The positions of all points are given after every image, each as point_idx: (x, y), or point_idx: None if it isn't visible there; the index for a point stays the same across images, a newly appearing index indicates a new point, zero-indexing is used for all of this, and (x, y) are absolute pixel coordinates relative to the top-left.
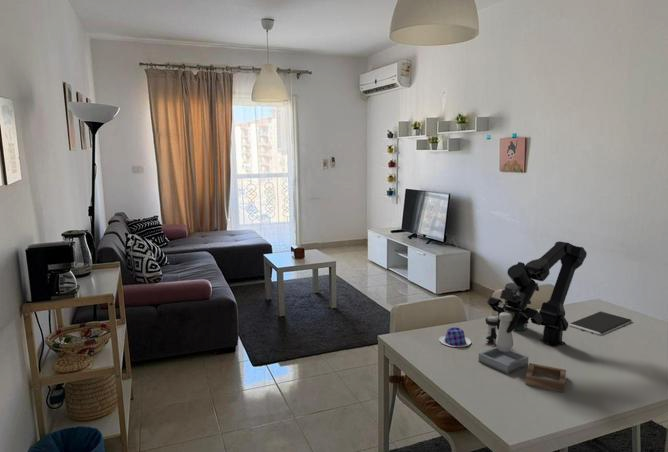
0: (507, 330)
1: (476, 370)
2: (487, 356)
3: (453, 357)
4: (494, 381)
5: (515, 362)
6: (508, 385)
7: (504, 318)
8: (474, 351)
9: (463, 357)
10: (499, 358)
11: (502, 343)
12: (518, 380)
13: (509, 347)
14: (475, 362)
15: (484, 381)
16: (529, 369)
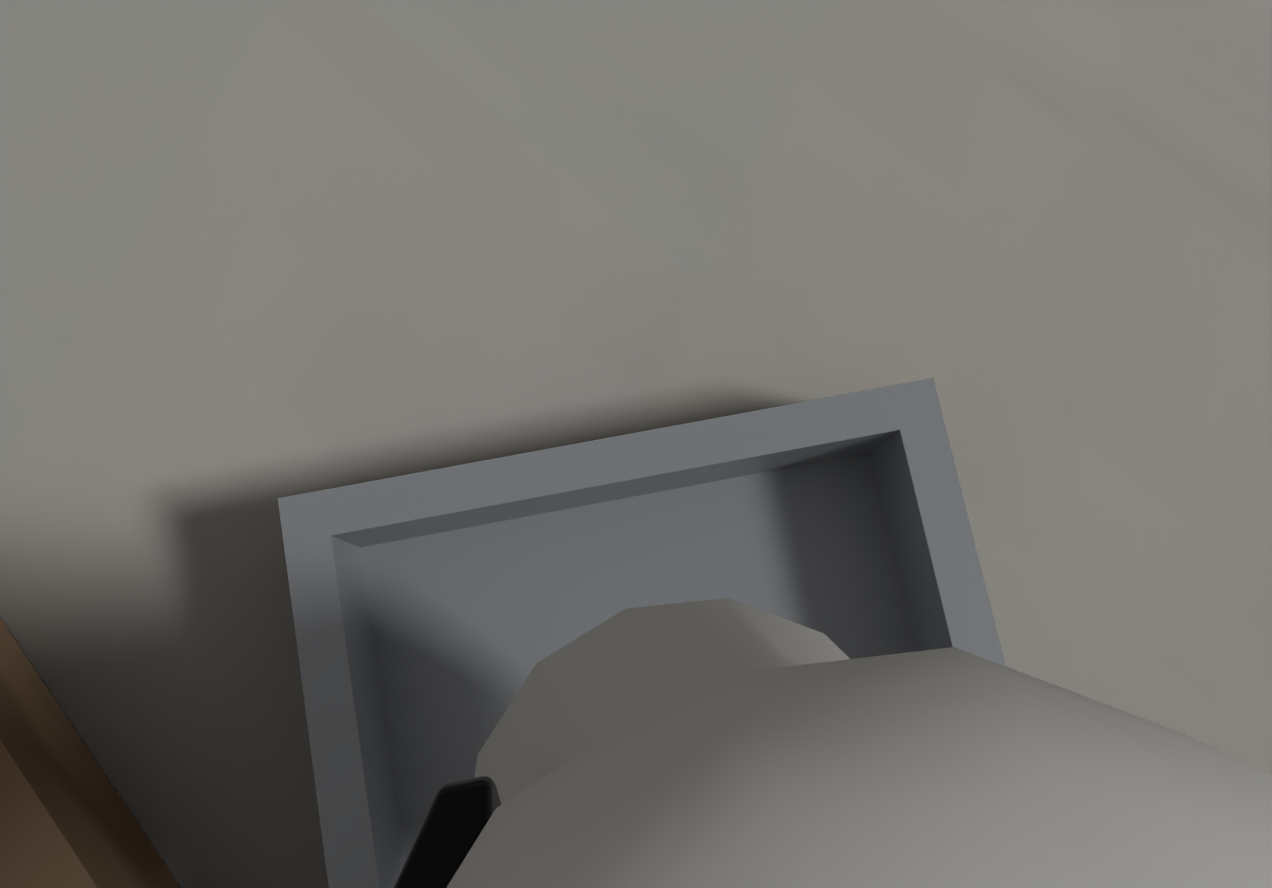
0: (459, 810)
1: (647, 179)
2: (758, 435)
3: (1168, 154)
4: (251, 179)
5: (310, 749)
6: (58, 275)
7: (555, 771)
8: (1259, 631)
9: (1113, 296)
10: None
11: (583, 648)
12: (88, 531)
13: None
14: (882, 350)
15: (322, 55)
16: (11, 816)
